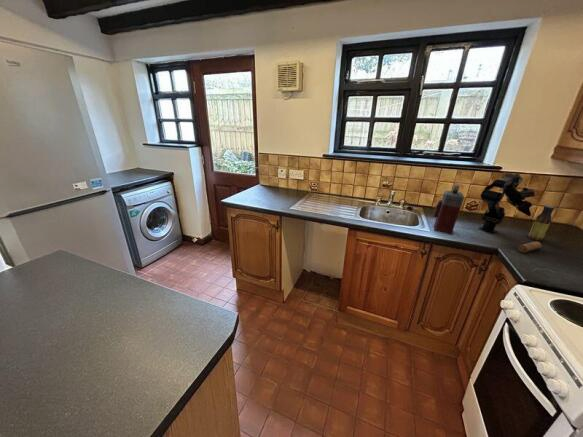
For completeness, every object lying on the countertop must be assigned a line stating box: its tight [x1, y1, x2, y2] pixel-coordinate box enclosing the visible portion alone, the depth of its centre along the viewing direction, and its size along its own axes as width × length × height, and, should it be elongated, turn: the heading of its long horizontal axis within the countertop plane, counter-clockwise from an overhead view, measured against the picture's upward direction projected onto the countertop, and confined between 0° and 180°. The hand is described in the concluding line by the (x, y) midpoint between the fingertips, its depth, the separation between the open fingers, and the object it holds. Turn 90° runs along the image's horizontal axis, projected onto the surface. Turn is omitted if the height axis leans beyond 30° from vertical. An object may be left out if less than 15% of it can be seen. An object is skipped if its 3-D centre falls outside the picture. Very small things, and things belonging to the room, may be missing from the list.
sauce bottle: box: [527, 204, 555, 242], centre depth 136 cm, size 7×6×20 cm
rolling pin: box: [517, 241, 542, 254], centre depth 127 cm, size 16×4×4 cm, turn 111°
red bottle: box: [433, 184, 465, 235], centre depth 142 cm, size 9×11×28 cm
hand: (526, 213), depth 143 cm, fingers open, 9 cm apart
